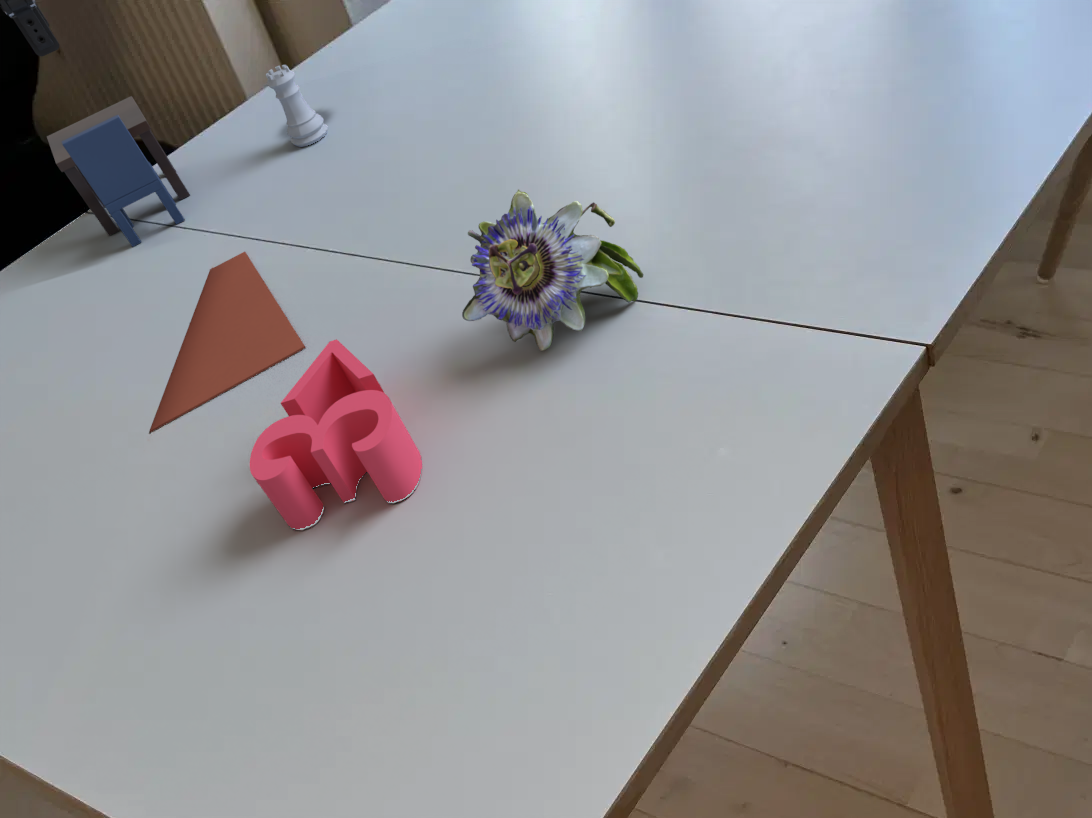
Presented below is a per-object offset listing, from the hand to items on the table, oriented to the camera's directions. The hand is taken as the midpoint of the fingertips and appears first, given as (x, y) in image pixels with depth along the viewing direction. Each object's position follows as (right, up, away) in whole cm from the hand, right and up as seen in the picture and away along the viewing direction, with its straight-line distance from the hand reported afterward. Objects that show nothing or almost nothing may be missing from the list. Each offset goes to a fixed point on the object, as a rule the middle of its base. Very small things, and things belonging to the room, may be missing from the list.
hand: (44, 41), depth 104 cm
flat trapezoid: (+17, -28, -6) cm, 33 cm away
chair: (+4, -14, +15) cm, 20 cm away
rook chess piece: (+19, -3, +20) cm, 28 cm away
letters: (+36, -39, -24) cm, 58 cm away
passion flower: (+50, -28, -19) cm, 61 cm away
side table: (0, -10, +20) cm, 22 cm away
